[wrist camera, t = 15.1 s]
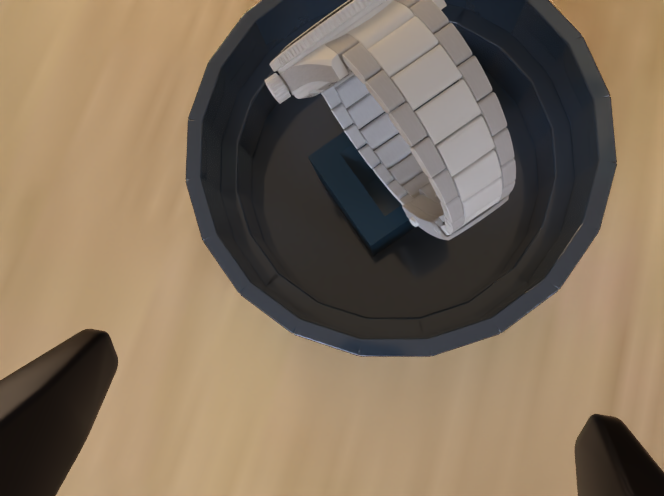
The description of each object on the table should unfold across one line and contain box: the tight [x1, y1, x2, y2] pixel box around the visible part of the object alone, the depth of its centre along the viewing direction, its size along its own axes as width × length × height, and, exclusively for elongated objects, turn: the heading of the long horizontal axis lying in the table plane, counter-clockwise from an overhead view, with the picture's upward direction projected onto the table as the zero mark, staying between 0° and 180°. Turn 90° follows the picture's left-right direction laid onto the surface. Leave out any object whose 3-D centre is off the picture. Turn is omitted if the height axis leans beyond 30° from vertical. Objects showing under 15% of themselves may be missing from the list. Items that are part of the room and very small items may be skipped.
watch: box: [265, 0, 516, 256], centre depth 16 cm, size 6×8×11 cm
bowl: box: [186, 0, 617, 357], centre depth 20 cm, size 15×15×5 cm
